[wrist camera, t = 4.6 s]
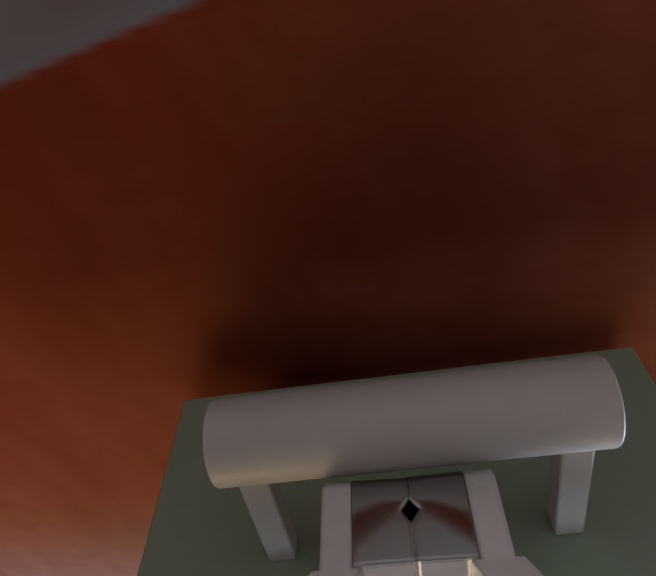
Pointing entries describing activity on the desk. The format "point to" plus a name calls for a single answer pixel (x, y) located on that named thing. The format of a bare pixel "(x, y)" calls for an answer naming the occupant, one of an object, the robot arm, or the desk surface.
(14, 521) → the desk surface
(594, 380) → the drawer
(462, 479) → the robot arm
